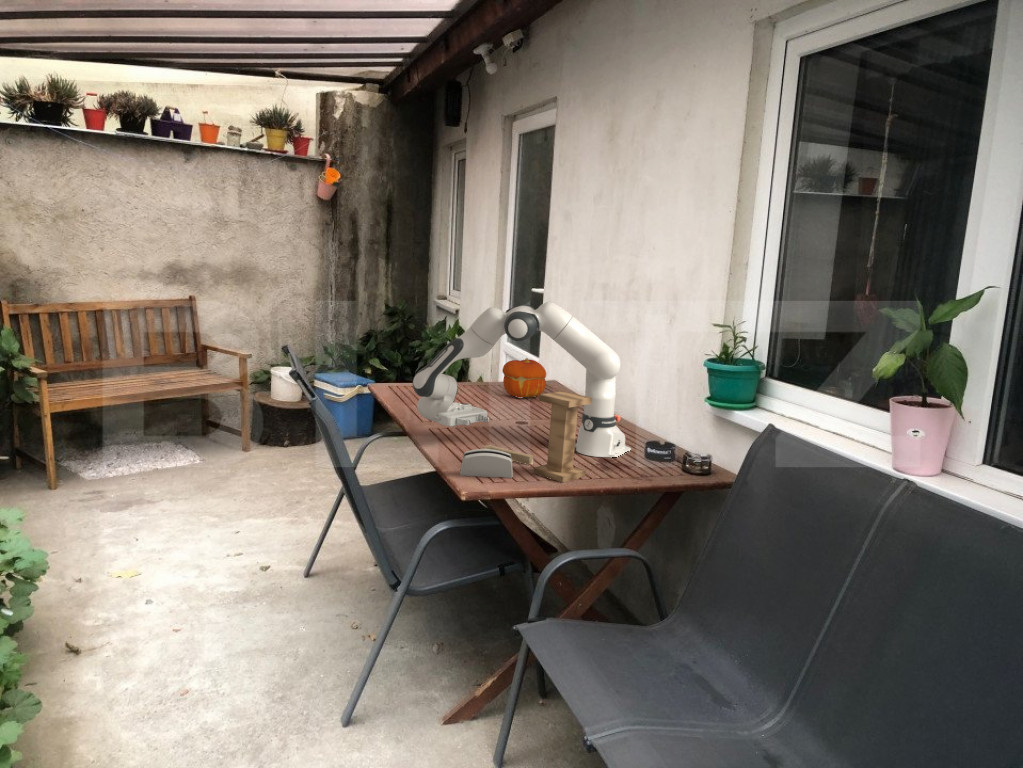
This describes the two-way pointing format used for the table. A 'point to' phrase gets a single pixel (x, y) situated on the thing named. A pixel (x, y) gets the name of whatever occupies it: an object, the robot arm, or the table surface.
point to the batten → (514, 454)
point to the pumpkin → (524, 378)
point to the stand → (562, 436)
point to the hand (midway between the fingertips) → (478, 421)
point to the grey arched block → (487, 463)
